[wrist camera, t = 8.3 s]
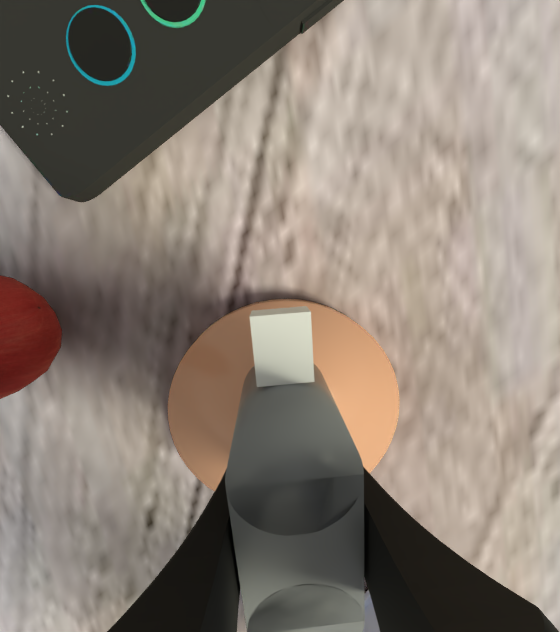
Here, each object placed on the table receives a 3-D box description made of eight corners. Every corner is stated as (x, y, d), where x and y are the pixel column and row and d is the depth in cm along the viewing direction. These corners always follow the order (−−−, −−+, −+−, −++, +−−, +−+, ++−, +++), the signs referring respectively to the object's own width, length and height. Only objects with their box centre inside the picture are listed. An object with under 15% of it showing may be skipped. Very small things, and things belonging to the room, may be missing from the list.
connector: (331, 521, 14) (364, 660, 9) (258, 529, 14) (253, 674, 9) (322, 296, 11) (363, 324, 6) (231, 303, 11) (203, 338, 6)
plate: (317, 521, 19) (320, 538, 18) (138, 442, 17) (128, 456, 16) (432, 367, 17) (445, 375, 16) (242, 253, 15) (239, 253, 13)
